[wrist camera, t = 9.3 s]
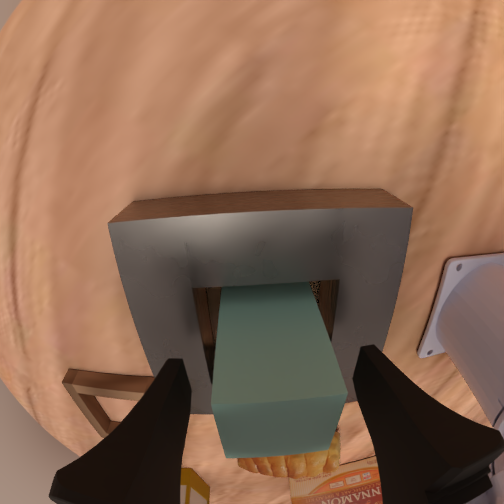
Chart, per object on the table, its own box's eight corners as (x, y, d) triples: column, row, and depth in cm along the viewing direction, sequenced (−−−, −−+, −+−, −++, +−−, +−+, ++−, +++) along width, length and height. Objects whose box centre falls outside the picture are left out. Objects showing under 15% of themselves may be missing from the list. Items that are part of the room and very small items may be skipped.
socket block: (382, 189, 13) (413, 207, 11) (353, 366, 18) (365, 399, 16) (132, 201, 13) (107, 223, 10) (176, 377, 18) (169, 413, 16)
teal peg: (302, 266, 15) (347, 392, 8) (299, 327, 17) (328, 449, 9) (223, 270, 15) (211, 404, 8) (230, 331, 17) (226, 458, 9)
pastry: (241, 460, 25) (241, 491, 21) (231, 430, 22) (231, 467, 18) (331, 449, 25) (338, 479, 21) (340, 417, 22) (350, 453, 18)
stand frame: (162, 377, 18) (158, 394, 17) (186, 434, 22) (184, 447, 20) (68, 368, 18) (61, 382, 17) (105, 425, 22) (101, 437, 20)
